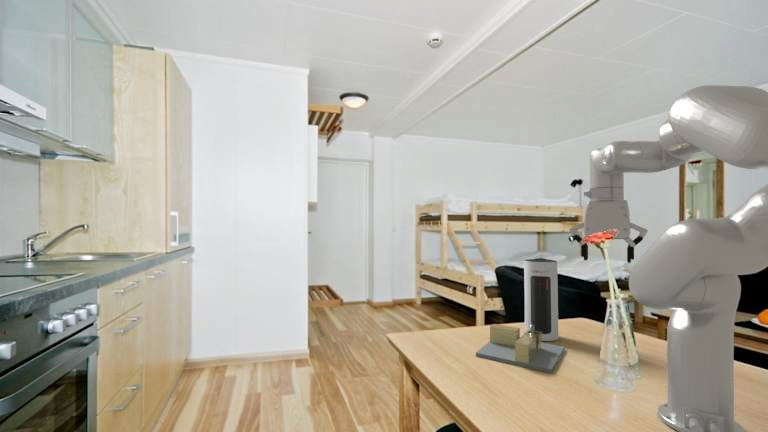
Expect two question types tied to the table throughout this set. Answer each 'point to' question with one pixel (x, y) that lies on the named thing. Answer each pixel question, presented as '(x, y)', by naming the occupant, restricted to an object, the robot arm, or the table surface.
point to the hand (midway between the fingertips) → (606, 261)
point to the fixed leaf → (507, 335)
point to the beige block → (527, 346)
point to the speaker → (541, 297)
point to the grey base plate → (506, 354)
